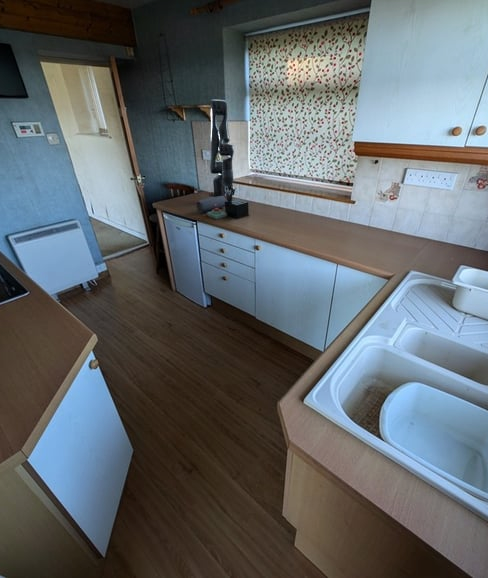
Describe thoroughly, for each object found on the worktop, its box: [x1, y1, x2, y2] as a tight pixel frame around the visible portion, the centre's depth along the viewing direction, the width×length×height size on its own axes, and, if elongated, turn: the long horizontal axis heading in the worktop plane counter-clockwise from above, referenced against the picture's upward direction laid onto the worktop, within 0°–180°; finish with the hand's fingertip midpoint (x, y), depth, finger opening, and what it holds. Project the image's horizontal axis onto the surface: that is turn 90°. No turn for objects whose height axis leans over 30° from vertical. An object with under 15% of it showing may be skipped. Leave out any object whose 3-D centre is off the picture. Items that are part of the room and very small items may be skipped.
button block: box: [206, 209, 228, 220], centre depth 216 cm, size 12×10×4 cm
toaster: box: [224, 198, 250, 220], centre depth 216 cm, size 14×11×10 cm
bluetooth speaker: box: [196, 196, 227, 213], centre depth 226 cm, size 23×9×10 cm, turn 132°
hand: (229, 200), depth 214 cm, fingers closed
